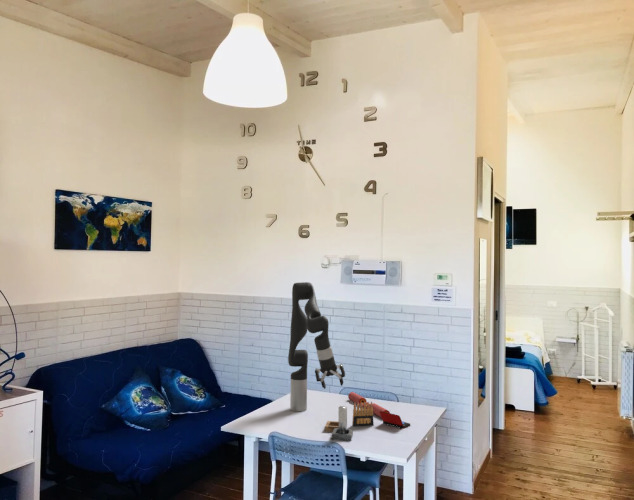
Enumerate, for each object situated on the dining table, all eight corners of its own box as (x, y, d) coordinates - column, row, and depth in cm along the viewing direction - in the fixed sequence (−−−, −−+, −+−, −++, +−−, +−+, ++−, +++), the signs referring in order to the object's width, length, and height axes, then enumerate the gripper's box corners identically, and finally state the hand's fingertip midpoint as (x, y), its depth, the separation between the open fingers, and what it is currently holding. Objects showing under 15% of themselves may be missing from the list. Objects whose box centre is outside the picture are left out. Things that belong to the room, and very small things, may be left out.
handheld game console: (411, 426, 275) (411, 411, 275) (399, 430, 267) (399, 415, 267) (390, 420, 284) (391, 406, 284) (378, 425, 276) (378, 410, 276)
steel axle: (338, 435, 258) (339, 405, 258) (347, 435, 257) (347, 406, 258) (337, 438, 254) (338, 408, 254) (346, 438, 254) (346, 408, 254)
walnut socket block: (327, 425, 273) (327, 420, 273) (345, 427, 271) (345, 422, 271) (324, 431, 264) (324, 426, 264) (343, 432, 262) (343, 427, 262)
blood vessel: (390, 419, 287) (390, 409, 287) (381, 419, 285) (381, 410, 285) (355, 399, 326) (355, 391, 326) (347, 400, 324) (348, 392, 324)
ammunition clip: (353, 426, 272) (353, 402, 272) (352, 425, 274) (352, 401, 274) (373, 425, 274) (373, 401, 275) (372, 424, 276) (372, 400, 276)
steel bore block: (334, 433, 261) (334, 428, 261) (352, 434, 260) (353, 429, 260) (331, 439, 252) (331, 434, 252) (350, 440, 251) (351, 435, 251)
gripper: (340, 350, 265) (347, 380, 268) (312, 355, 267) (320, 385, 270) (339, 356, 258) (346, 387, 261) (310, 361, 260) (318, 392, 263)
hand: (333, 386), depth 265 cm, fingers open, 8 cm apart
